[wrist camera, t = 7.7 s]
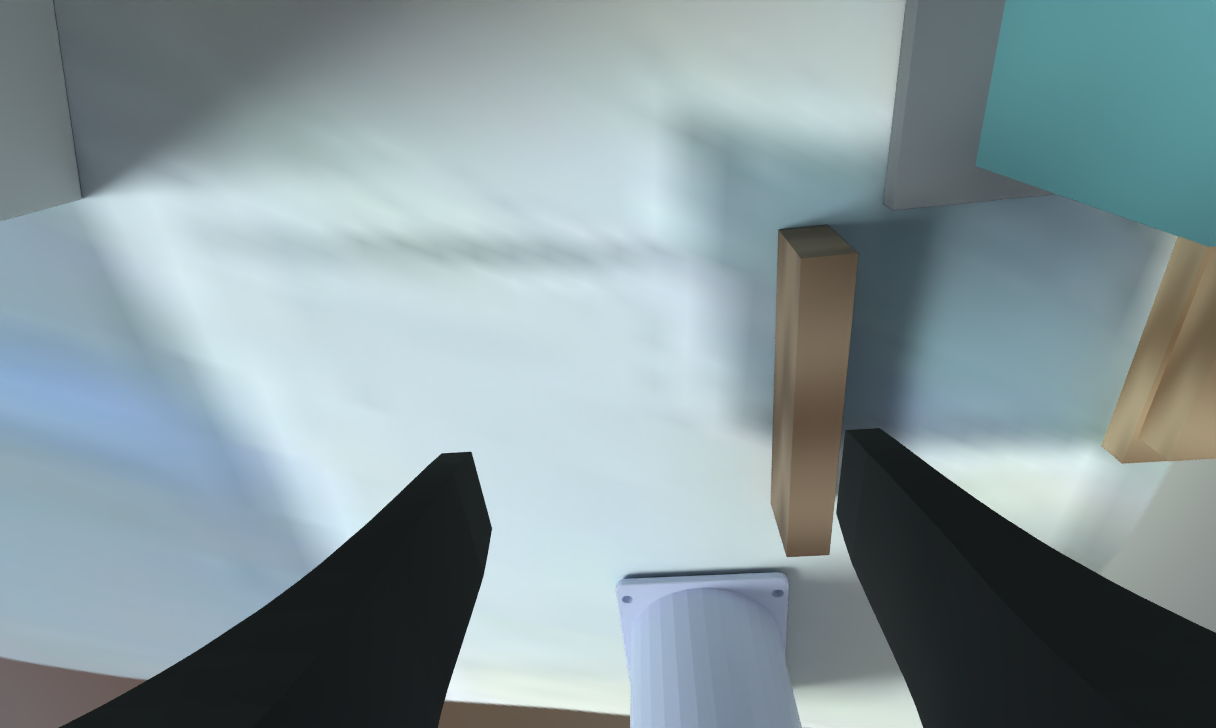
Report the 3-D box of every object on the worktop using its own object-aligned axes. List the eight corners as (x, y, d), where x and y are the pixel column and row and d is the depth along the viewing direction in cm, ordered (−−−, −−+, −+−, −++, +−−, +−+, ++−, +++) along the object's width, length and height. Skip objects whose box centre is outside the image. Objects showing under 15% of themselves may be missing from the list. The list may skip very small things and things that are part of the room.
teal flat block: (1064, 156, 17) (1368, 232, 10) (975, 165, 17) (1210, 247, 10) (1143, -153, 14) (1682, -368, 7) (1030, -136, 14) (1435, -327, 7)
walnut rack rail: (808, 501, 25) (829, 555, 22) (770, 503, 25) (786, 557, 22) (827, 224, 19) (858, 253, 16) (778, 229, 19) (800, 258, 16)
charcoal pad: (1115, 180, 18) (1135, 186, 17) (883, 204, 19) (892, 210, 18) (1231, -208, 14) (1263, -221, 13) (924, -160, 14) (938, -170, 14)
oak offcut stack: (1177, 436, 23) (1242, 483, 20) (1095, 441, 23) (1151, 488, 20) (1276, 208, 18) (1375, 232, 16) (1175, 217, 19) (1257, 243, 16)
